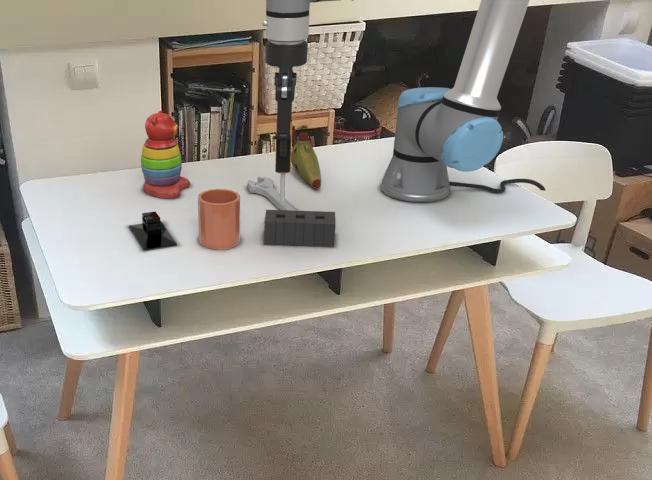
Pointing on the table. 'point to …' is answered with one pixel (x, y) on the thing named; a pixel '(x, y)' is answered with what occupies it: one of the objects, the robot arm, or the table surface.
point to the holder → (299, 228)
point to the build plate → (152, 233)
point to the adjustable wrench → (269, 193)
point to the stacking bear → (162, 158)
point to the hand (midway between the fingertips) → (283, 168)
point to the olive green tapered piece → (306, 161)
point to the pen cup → (219, 218)
